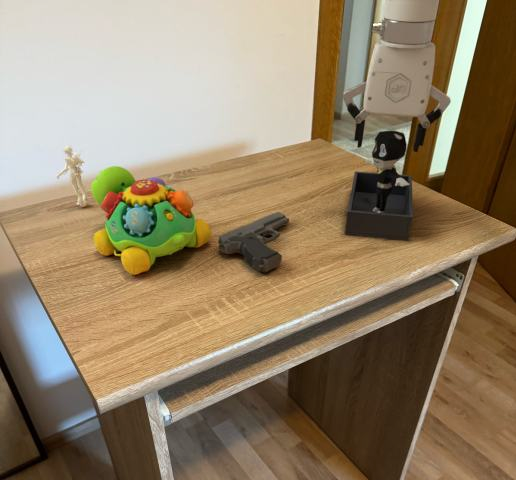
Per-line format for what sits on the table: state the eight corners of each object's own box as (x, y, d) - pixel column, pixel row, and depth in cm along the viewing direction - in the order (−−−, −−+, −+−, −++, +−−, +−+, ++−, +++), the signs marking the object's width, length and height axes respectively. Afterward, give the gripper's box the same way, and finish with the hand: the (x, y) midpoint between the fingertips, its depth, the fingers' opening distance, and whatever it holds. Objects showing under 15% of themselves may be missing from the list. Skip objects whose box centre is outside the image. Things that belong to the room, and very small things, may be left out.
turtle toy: (148, 207, 97) (137, 147, 89) (225, 249, 85) (220, 183, 77) (70, 237, 88) (51, 174, 81) (143, 289, 76) (129, 219, 68)
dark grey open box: (407, 196, 99) (411, 175, 96) (408, 240, 86) (413, 217, 83) (352, 192, 101) (354, 171, 98) (344, 234, 88) (347, 211, 85)
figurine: (61, 205, 98) (43, 145, 90) (91, 198, 101) (75, 138, 93) (69, 215, 95) (51, 153, 87) (99, 207, 97) (84, 146, 89)
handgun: (327, 229, 85) (276, 206, 91) (263, 260, 75) (211, 233, 82) (325, 245, 87) (275, 222, 93) (262, 278, 77) (211, 250, 84)
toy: (348, 199, 98) (358, 121, 88) (376, 195, 99) (388, 117, 89) (380, 230, 88) (395, 146, 78) (410, 225, 89) (428, 141, 79)
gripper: (347, 35, 73) (335, 151, 84) (468, 40, 70) (439, 159, 81) (351, 26, 78) (339, 136, 89) (464, 30, 75) (437, 143, 87)
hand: (387, 147), depth 85 cm, fingers open, 9 cm apart
